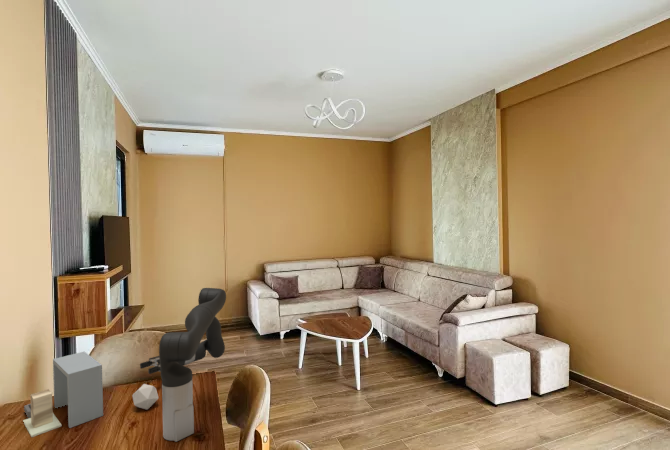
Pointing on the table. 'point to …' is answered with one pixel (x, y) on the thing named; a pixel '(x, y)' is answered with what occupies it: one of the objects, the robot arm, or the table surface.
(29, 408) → the trap pit
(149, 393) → the die
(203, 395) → the table surface
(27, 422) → the pad
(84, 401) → the grey tunnel
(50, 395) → the birch block
